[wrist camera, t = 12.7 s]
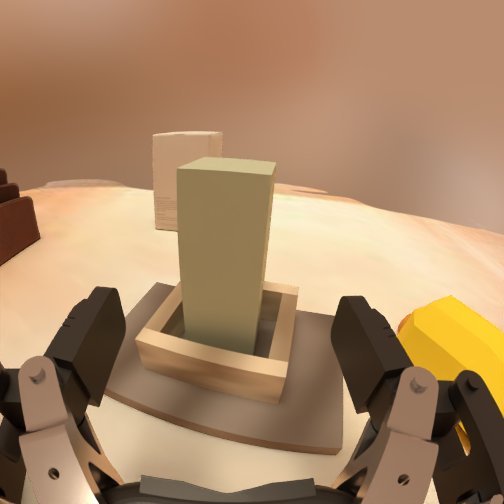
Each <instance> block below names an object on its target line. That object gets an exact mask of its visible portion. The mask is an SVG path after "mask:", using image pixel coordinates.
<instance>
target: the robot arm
mask: <svg viewBox="0 0 504 504" xmlns="http://www.w3.org/2000/svg"><path fill="white" fill-rule="evenodd" d="M67 317H68V318H66V319H65V321H64V323H63V324H62V326H61V327H60V329H59V330H58V332H57V334H56V335H55V337H54V339H53V340H52V342H51V344H50V345H49V347H48V349H47V350H46V352H45V354H44V355H43V356H36V357H32V358H30V359H28V360H27V361H26V362H25V363H24V364H23V365H22V366H21V368H20V369H5V368H4V367H3V365H2V364H1V362H0V413H1V414H2V415H3V416H4V417H3V420H2V423H1V425H0V504H21V498H22V492H23V486H24V480H25V475H26V471H27V473H28V476H29V479H30V482H31V485H32V488H33V490H34V493H35V496H36V498H37V501H38V503H39V504H423V503H424V500H425V498H426V495H427V491H428V488H429V485H430V482H431V478H433V481H434V485H435V488H436V492H437V496H438V500H439V504H504V417H503V415H502V413H501V411H500V409H499V407H498V405H497V403H496V402H495V400H494V398H493V396H492V394H491V392H490V391H489V389H488V387H487V385H486V384H485V382H484V380H483V379H482V377H481V376H480V375H479V374H477V373H476V372H474V371H471V370H463V371H461V372H460V373H459V374H458V376H457V377H456V378H455V380H454V381H447V380H437V379H436V378H435V376H434V375H433V374H432V373H431V372H430V371H429V370H427V369H425V368H422V367H418V366H414V365H413V363H412V361H411V360H410V358H409V356H408V354H407V353H406V351H405V349H404V348H403V346H402V344H401V343H400V341H399V339H398V338H397V337H396V334H395V333H394V331H393V330H392V329H391V326H390V325H389V323H388V322H387V320H386V318H385V317H384V316H383V315H382V314H380V313H379V312H378V311H377V310H376V309H371V307H370V306H369V304H368V303H367V301H366V299H365V298H364V297H363V296H343V297H342V298H341V299H340V302H339V305H338V308H337V312H336V315H335V318H334V321H333V324H332V327H331V343H332V346H333V349H334V351H335V354H336V357H337V360H338V362H339V365H340V368H341V370H342V373H343V376H344V379H345V381H346V384H347V387H348V390H349V393H350V396H351V398H352V401H353V404H354V407H355V410H356V413H357V414H359V413H364V412H369V415H370V418H369V419H368V421H367V423H366V426H365V428H364V430H363V433H362V435H361V437H360V439H359V442H358V444H357V446H356V448H355V450H354V452H353V454H352V456H351V459H350V460H349V462H348V464H347V466H346V467H345V468H344V470H343V471H342V472H341V473H340V475H339V476H338V478H337V479H336V481H335V482H334V484H333V486H332V488H330V487H326V486H320V485H314V479H313V478H310V479H303V480H295V481H287V482H276V483H270V484H266V485H263V486H259V487H255V488H251V489H247V490H243V491H238V492H234V493H222V492H218V491H214V490H210V489H207V488H203V487H199V486H196V485H193V484H190V483H187V482H183V481H177V480H169V479H162V478H156V477H150V476H145V475H141V482H134V483H127V484H124V482H123V481H122V479H121V477H120V476H119V474H118V473H117V471H116V470H115V469H114V467H113V466H112V465H111V463H110V462H109V460H108V459H107V457H106V455H105V453H104V451H103V449H102V447H101V445H100V443H99V441H98V439H97V436H96V434H95V432H94V429H93V427H92V425H91V422H90V420H89V417H88V415H87V413H86V412H85V411H86V408H87V406H88V404H89V405H92V406H96V407H99V406H100V403H101V400H102V397H103V394H104V391H105V388H106V385H107V383H108V380H109V377H110V374H111V371H112V369H113V366H114V363H115V361H116V358H117V355H118V353H119V350H120V348H121V345H122V343H123V340H124V337H125V333H126V321H125V317H124V314H123V310H122V306H121V302H120V297H119V293H118V291H117V289H116V288H109V287H98V286H97V287H95V288H94V290H93V291H92V293H91V294H90V296H89V297H88V299H83V300H82V301H81V302H79V303H78V304H77V305H75V306H74V307H73V309H72V310H71V312H70V313H69V315H68V316H67ZM460 422H462V425H463V427H464V429H465V432H466V434H467V436H468V439H469V441H470V444H471V450H470V453H469V455H468V456H466V454H465V452H464V449H463V447H462V444H461V442H460V439H459V437H458V434H457V432H456V429H455V426H457V425H458V424H459V423H460Z"/></svg>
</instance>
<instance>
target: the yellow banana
mask: <svg viewBox="0 0 504 504" xmlns="http://www.w3.org/2000/svg"><path fill="white" fill-rule="evenodd" d="M398 332H399V333H398V335H397V336H396V337H397V338H398V339H399V341H400V343H401V344H402V346H403V348H404V349H405V351H406V353H407V354H408V356H409V358H410V360H411V361H412V363H413V365H414V366H418V367H422V368H425V369H427V370H429V371H430V372H431V373H432V374H433V375H434V376H435V378H436V379H437V380H447V381H454V380H455V378H456V377H457V376H458V374H459V373H460V372H461V371H463V370H471V371H474V372H476V373H477V374H479V375H480V376H481V377H482V379H483V380H484V382H485V384H486V385H487V387H488V389H489V391H490V392H491V394H492V396H493V398H494V400H495V402H496V403H497V405H498V407H499V409H500V411H501V413H502V415H503V417H504V333H503V332H502V331H501V330H500V329H499V328H497V327H496V326H494V325H493V324H492V323H490V322H489V321H488V320H486V319H485V318H483V317H482V316H481V315H479V314H478V313H476V312H475V311H473V310H472V309H470V308H469V307H468V306H466V305H465V304H463V303H462V302H460V301H459V300H457V299H456V298H454V297H453V296H451V295H450V296H447V297H444V298H442V299H439V300H436V301H433V302H432V303H430V304H428V305H426V306H425V307H422V308H419V309H415V310H414V311H413V312H412V314H409V315H407V316H406V317H405V318H404V319H403V320H402V321H401V323H400V324H399V326H398ZM459 426H460V427H461V428H462V430H463V431H464V432H465V429H464V427H463V425H462V422H460V423H459ZM465 434H466V432H465ZM466 435H467V434H466ZM467 437H468V436H467Z"/></svg>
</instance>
